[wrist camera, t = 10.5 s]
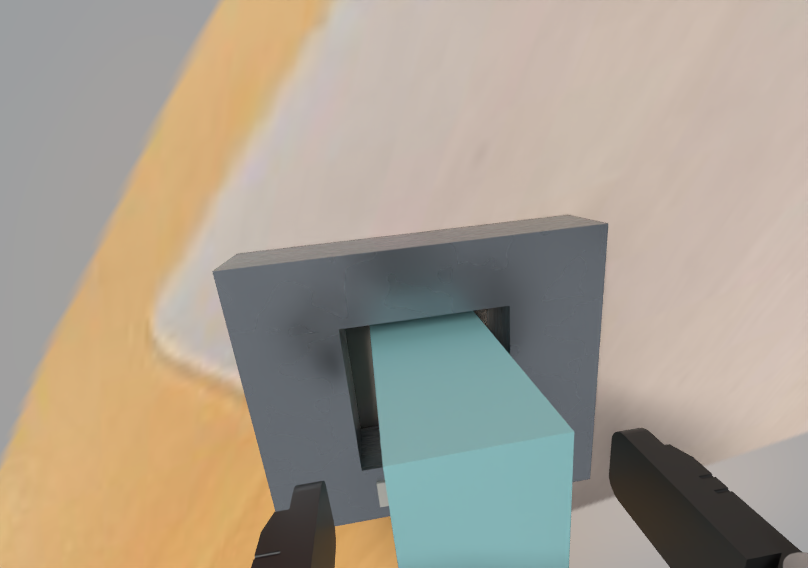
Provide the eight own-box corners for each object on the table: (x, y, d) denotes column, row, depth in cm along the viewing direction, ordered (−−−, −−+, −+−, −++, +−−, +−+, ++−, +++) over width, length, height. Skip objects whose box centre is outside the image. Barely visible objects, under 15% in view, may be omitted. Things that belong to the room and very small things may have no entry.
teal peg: (468, 304, 16) (574, 431, 8) (473, 390, 17) (569, 569, 9) (368, 319, 15) (383, 466, 8) (381, 406, 17) (404, 604, 9)
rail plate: (568, 214, 15) (610, 224, 13) (559, 438, 18) (591, 480, 16) (236, 253, 14) (211, 272, 11) (292, 485, 17) (281, 538, 15)
